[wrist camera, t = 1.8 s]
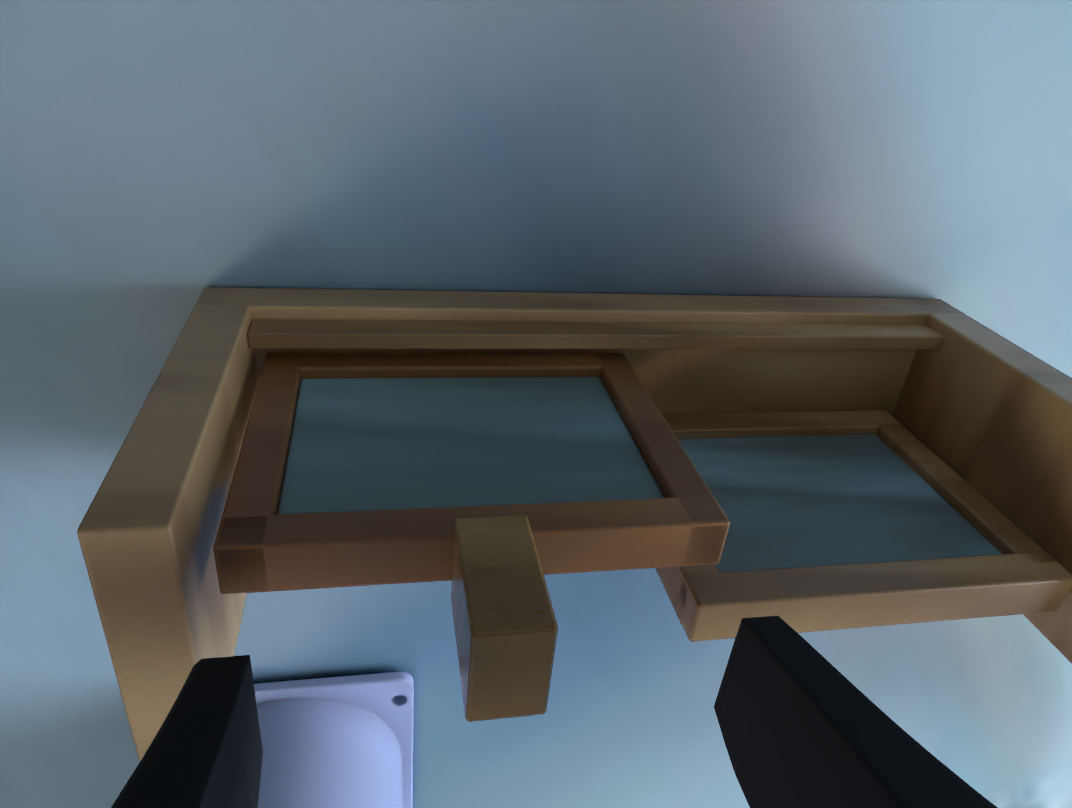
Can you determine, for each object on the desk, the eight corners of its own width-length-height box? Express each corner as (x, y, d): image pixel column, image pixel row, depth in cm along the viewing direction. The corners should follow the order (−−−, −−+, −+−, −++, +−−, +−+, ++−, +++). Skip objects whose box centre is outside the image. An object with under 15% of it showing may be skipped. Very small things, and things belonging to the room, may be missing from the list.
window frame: (885, 443, 24) (1120, 664, 17) (227, 460, 20) (138, 764, 13) (940, 297, 22) (1245, 479, 14) (203, 285, 18) (74, 530, 10)
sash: (616, 400, 20) (776, 693, 12) (271, 404, 18) (190, 751, 10) (626, 337, 19) (807, 609, 11) (264, 335, 17) (170, 658, 9)
